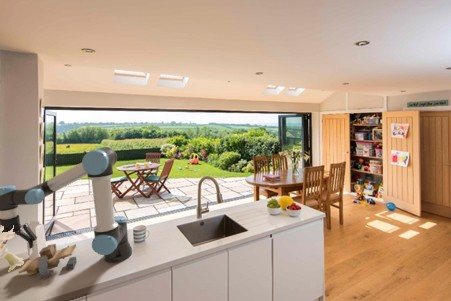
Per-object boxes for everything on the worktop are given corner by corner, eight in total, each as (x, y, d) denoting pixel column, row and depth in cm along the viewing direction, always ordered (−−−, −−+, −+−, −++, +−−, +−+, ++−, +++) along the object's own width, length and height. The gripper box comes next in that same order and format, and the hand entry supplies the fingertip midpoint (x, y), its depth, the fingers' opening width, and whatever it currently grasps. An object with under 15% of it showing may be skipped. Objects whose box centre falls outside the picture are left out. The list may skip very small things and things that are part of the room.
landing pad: (76, 262, 140) (76, 256, 139) (73, 269, 133) (72, 263, 133) (70, 263, 139) (69, 257, 138) (67, 270, 132) (66, 264, 132)
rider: (56, 252, 135) (53, 244, 134) (53, 257, 130) (49, 249, 129) (45, 256, 134) (42, 248, 133) (42, 261, 129) (39, 252, 128)
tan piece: (79, 252, 142) (74, 238, 140) (74, 263, 131) (68, 247, 129) (31, 269, 135) (25, 254, 133) (22, 281, 124) (15, 266, 122)
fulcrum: (57, 262, 140) (55, 243, 139) (48, 278, 126) (46, 257, 125) (50, 263, 139) (48, 245, 138) (40, 279, 125) (37, 259, 124)
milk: (38, 254, 150) (34, 219, 147) (47, 254, 149) (43, 219, 146) (29, 259, 144) (24, 223, 141) (38, 260, 143) (34, 223, 140)
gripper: (41, 210, 132) (45, 248, 134) (-18, 217, 124) (-12, 257, 126) (35, 215, 125) (40, 255, 127) (-28, 223, 117) (-21, 265, 119)
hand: (14, 256), depth 127 cm, fingers open, 13 cm apart
